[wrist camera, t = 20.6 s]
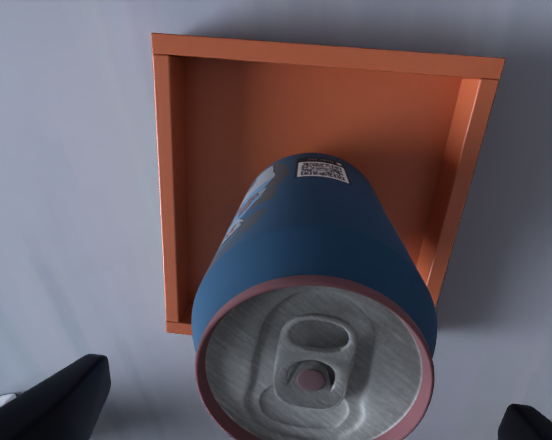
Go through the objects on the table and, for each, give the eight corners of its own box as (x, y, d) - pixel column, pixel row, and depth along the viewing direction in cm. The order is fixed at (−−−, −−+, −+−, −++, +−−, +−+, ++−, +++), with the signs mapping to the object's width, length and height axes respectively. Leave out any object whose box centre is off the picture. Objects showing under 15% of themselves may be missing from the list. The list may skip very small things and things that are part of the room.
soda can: (360, 275, 21) (418, 501, 10) (241, 258, 21) (167, 459, 10) (388, 157, 18) (509, 283, 7) (252, 138, 19) (170, 234, 8)
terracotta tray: (409, 332, 23) (421, 361, 20) (180, 307, 24) (166, 332, 21) (479, 60, 17) (506, 58, 15) (171, 38, 18) (150, 32, 15)
